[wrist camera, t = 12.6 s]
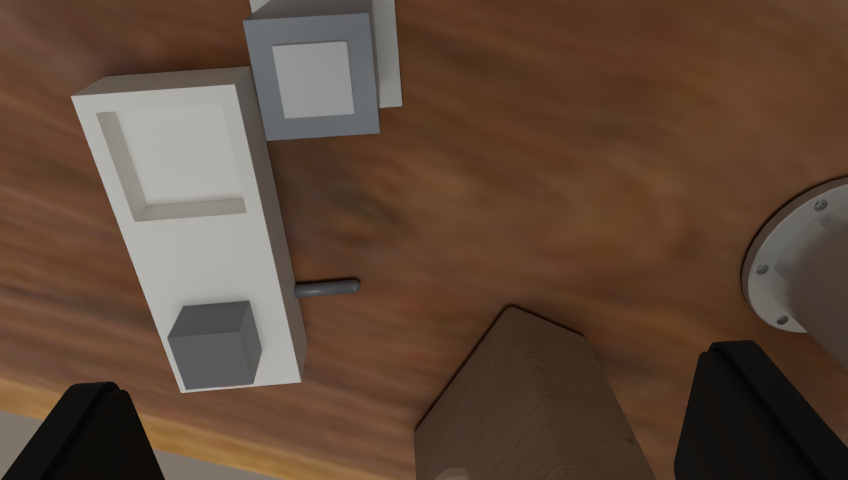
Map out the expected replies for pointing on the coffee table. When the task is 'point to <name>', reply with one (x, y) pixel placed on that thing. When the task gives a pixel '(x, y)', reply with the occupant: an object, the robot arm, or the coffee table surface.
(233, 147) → the power strip
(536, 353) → the decorative block
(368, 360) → the coffee table surface
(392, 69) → the felt pad
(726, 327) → the coffee table surface
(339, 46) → the block
